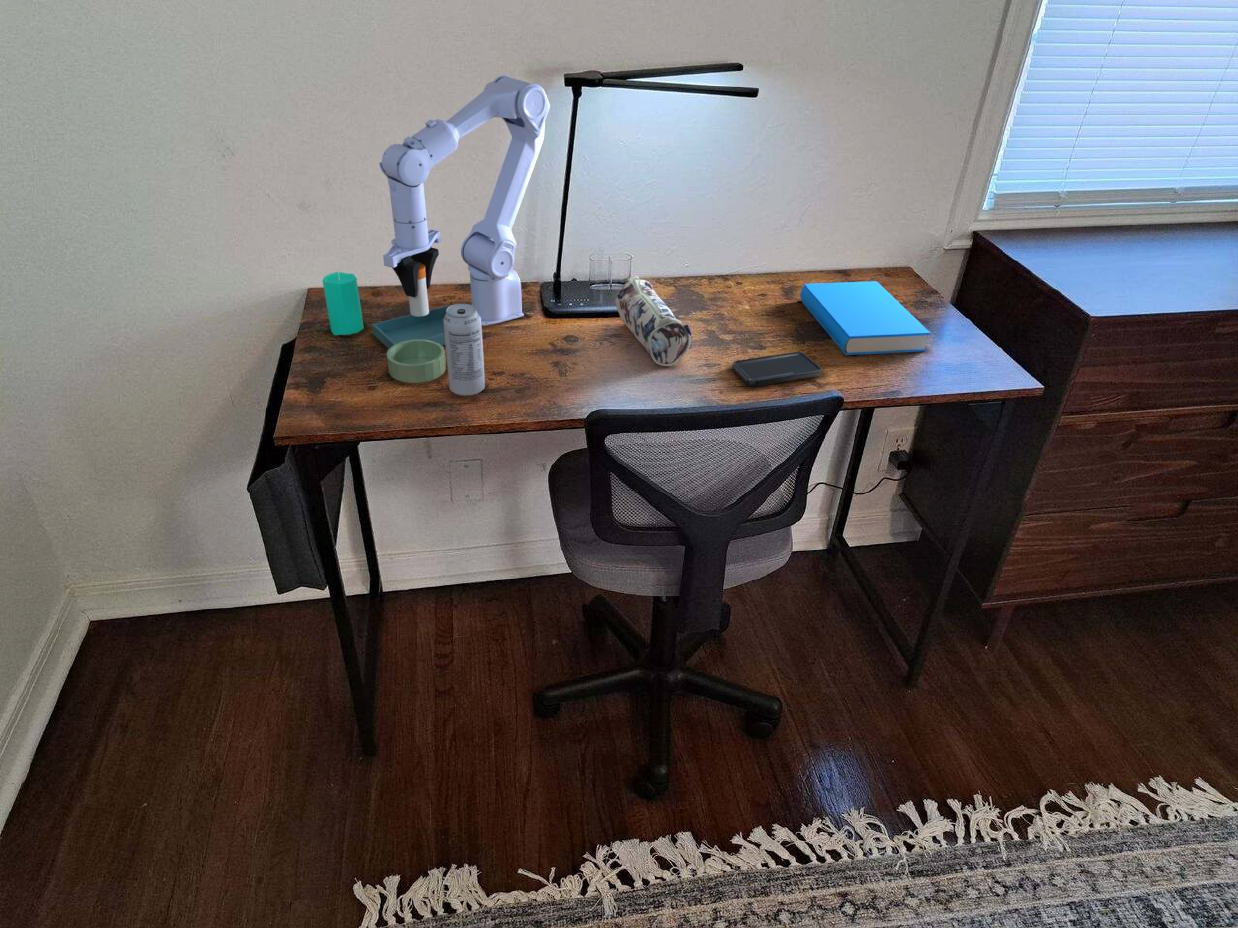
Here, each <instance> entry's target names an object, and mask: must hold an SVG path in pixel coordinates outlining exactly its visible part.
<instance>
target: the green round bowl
mask: <svg viewBox="0 0 1238 928" xmlns="http://www.w3.org/2000/svg"><path fill="white" fill-rule="evenodd" d="M386 362H387V368H388V374H389V376H390V377H391V378H392V379H395V381H399V382H402V383H410V384H418V383H427V382H431V381H434V380H435V379H438V378H439V377H441V376H443V375H444V373H445V372H446V369H447V359H446V350H445V348H444V346H443V345H440V344H439V343H436V342H434V341H430V340H420V339H417V340H416V339H415V340H407V341H403V342H400V343H397V344H395V345H393V346H392V347H391V348H387V351H386Z"/></svg>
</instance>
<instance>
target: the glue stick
mask: <svg viewBox="0 0 1238 928" xmlns="http://www.w3.org/2000/svg"><path fill="white" fill-rule="evenodd" d="M417 283H418V293H417V296H416V297H411V296H407V297H408V305H409V313H410V315H413V316H417V317H420V316H425V315H427V314H429V310H430V306H429V296H428V289H427V286H426V271H425V265H424V264H420V267H419V271H418V279H417Z"/></svg>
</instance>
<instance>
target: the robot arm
mask: <svg viewBox="0 0 1238 928" xmlns="http://www.w3.org/2000/svg"><path fill="white" fill-rule="evenodd" d="M550 109H551V104H550V101H549V99H548V96H547V94H546V92H545V89H544V88H543V87H542V86H541V85H540V84H537V83H534V82H533V83H531V82H528V81H524V80H521V79H517V78H514V77H512V76H510V75H506V74H503V75H502V74H501V75H499V76H498V77H496V78H494V80H493V81H490V82H488V83H486V84H485V86H484V88H483V90H482V92H481V93H479V94H478V95H477V96H475V97H474V98H473V99H472V100H470V102H468V103H467V104H465V105H464V106H463V107H462V108H461V109H459V110H458V112H456V113H454V115H452V116H451V117H449V118H448V119H447V120H443V119H440V118H439V119H438V118H437V119H435V120H433V119H428V120H427V121H426V122H425V123H424V125H425V127H423V128H422V129H420V130H419V131H418V132H416V133H414V134H413V135H412V136H407V137H405V138H404V139H403V143H402V144H401V143H394V144H391V145H389V146H388V147H387V148H386V149H385V150H384V152H383V154H382V157H381V161H379V163H378V164H379V165H378V166H379V169H380V170H381V172H382V174H383V175H385V177H386V178H387V182H388V187H389V196H390V197H389V198H390V204H391V213H392V221H393V223H392V224H393V231H394V238H393V239H391V245H392V246H391V247H390V248H389V249H388V251H387V252H385V254H383V255H382V258H383V264H384V265H383V266H384V267H387V268H391V269H392V270H393V272H394V273H395V274H396V276H397V278H398V280H399V282H400V285H401V286H402V289H403V292H404V294H405V296H406V297H408V296H411V297H416V296H417V293H418V283H417V279H418V271H419V267H420V264H424V265H425V271H426V286H427V290H429V289H430V288H431V282H432V275H433V270H434V267H435V265H436V264H435V263H436V261H437V259H438V256H439V255H440V252H439V249H438V248H436V247H432V245H433V244H439V243H441V241H442V239H441V238H442V237H441V231H440V230H435V229H429V227H428V217H427V207H426V206H427V205H426V195H425V186H424V183H425V182H426V180H427V179H428V177H429V175H430V171H431V170H432V169H433V167H435V166H436V165H438V164H439V163H440V162H442V161H443V160H444V159H446V158H447V157H448V156H450V155H452V154H453V152H454V153H455V152H456V151H457V150H458V148H459V140H461V139H462V138H463V137H465V136H466V135H468V134H469V133H472V132H473V131H475V130H476V129H478V128H479V127H481V126H482V125H484V124H486V123H487V122H489V121H490V120H492V119H494V118H500V119H501V120H502V121H503V122H504V123H505V124H506V127H507V128H508V132H509V134H510V135H511V139H510V143H509V146H508V148H507V151H506V154H505V157H504V159H503V163H502V165H501V167H500V168H501V169H500V171H499V174H498V177H497V180H496V182H495V186H494V189H493V191H492V194H491V197H490V200H489V203H488V206H487V209H486V212H485V214H484V217H483V219H482V220H480V221H478V222H476V223H474V224H473V225H472V228H471V230H470V232H469V234H468V235H467V236H466V238H465V239H464V240H463V242H462V244H461V247H460V256H461V259H462V260H463V262H464V263H465V264H467V270H468V271H469V283H470V284H469V285H470V296H471V297H470V298H471V305H473V306H475V307H476V309H477V313H478V314H479V316H480V317H481V326H483V327H484V326H488V325H497V324H501V323H504V322H508V321H512V320H515V319H519V318H523V317H524V316H525V313H524V312H523V305H522V302H523V301H522V284H521V283H522V282H521V279H520V277H519V275H518V273H517V271H516V270H515V269H513V268H514V265H515V253H516V249H517V246H518V245H517V241H516V239H515V236H514V233H513V231H512V230H513V227H514V224H515V222H516V218H517V216H518V213H519V210H520V208H521V205H522V201H523V199H524V196H525V193H526V190H527V188H528V185H529V182H530V179H531V176H532V174H533V171H534V169H535V165H536V163H537V160H538V157H539V154H540V151H541V149H542V145H543V143H544V139H545V126H546V119H547V117H548V114H549V111H550Z"/></svg>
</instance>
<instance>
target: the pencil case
mask: <svg viewBox="0 0 1238 928" xmlns="http://www.w3.org/2000/svg"><path fill="white" fill-rule="evenodd" d="M626 282H627V283H624V284H623V285H622V286H621V287H620V288H619V289H618V291H617V292H616V295H615V299H614V304H615V307H616V310H617V312H618V314H619V317H620V319H621V320H622V322H623V323H624V324H625V326H626V327H627V328H628V329H629V331H630V332H631V333H632V334H633V336H634V337H635V338H636V340H637V341H638V342H639V343H640V344H641V345H642V347H643V348H644V349H645V350H646V352H647V353H648V354H649V355H650V357H651V359H652V360H653V362H654V363H656V364H657V365H659V366H662V367H673V366H674V365H675V364H676V363H678V361H679V360H681V359H682V358H683V357H684V356H685V354H686V353H687V352H688V350H689V348H690V345H691V336H692V335H693V333H692V331H691V328H690V326H689V324H685V323H684V322H682V321H681V320H680V319H677V318H676V317H675V315H674V313H673V312H672V310H671V309H670V307H669V306H668V305H667V304H666V303H665V302H664V301H663V300H662V299H661V298H660V297H659V295H658V294H657V293H656V291H655V289H654V286H653V285H652V284H651V283H650V282H649V281H648V280H645V279H640V277H639V276H638V275H634V276H631V277H629V278H628V279H626Z"/></svg>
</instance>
